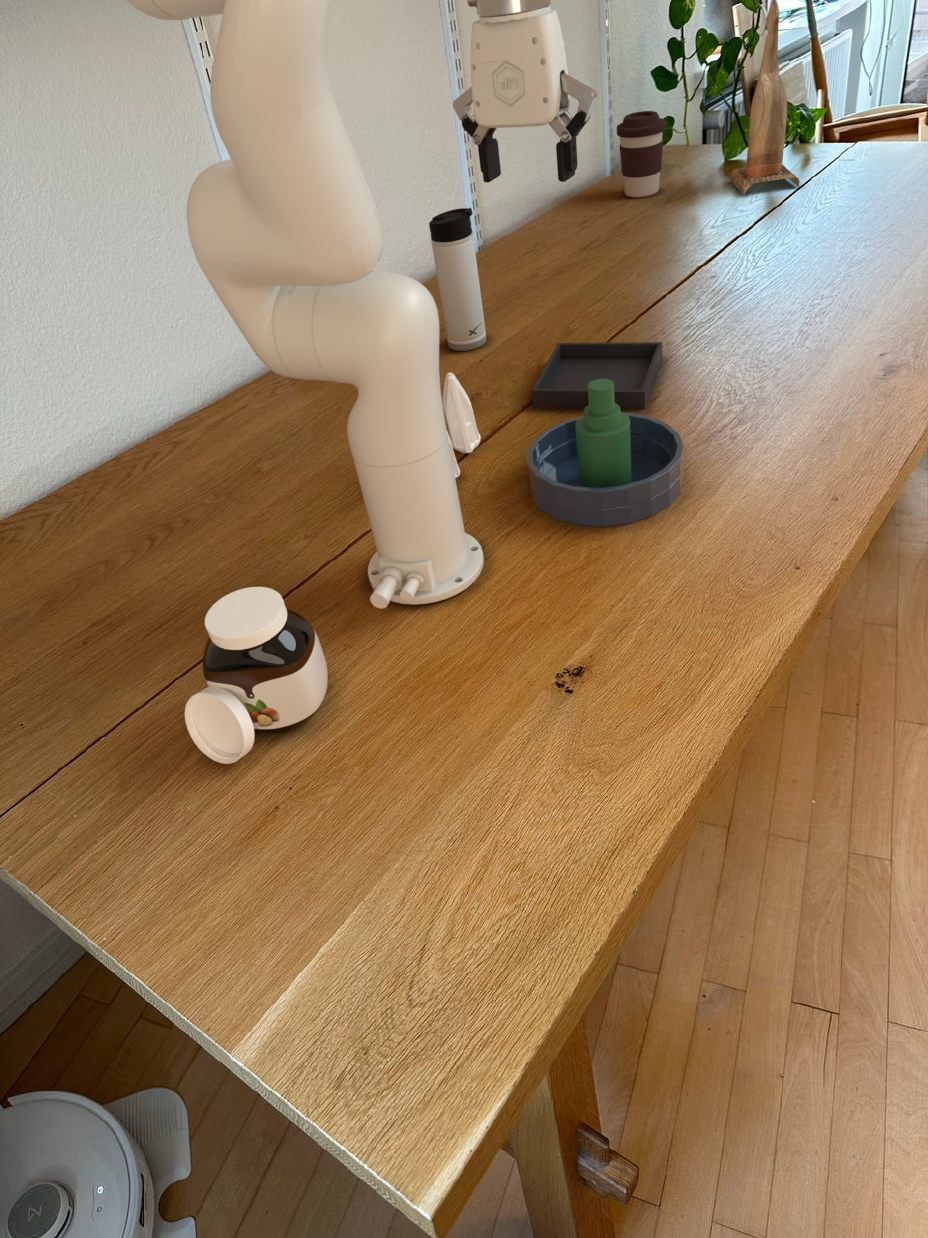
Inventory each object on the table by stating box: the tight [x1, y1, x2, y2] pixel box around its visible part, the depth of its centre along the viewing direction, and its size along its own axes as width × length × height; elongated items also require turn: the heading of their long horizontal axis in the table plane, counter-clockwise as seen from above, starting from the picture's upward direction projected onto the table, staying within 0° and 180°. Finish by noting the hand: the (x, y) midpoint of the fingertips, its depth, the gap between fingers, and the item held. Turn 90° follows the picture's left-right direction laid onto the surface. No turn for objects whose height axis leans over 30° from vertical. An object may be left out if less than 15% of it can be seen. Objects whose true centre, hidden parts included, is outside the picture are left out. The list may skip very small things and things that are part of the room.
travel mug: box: [428, 207, 487, 352], centre depth 133 cm, size 6×7×20 cm
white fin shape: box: [442, 372, 482, 479], centre depth 107 cm, size 12×4×11 cm, turn 156°
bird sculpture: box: [729, 0, 800, 196], centre depth 169 cm, size 11×12×32 cm
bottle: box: [575, 379, 632, 488], centre depth 97 cm, size 6×6×12 cm
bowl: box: [526, 412, 685, 528], centre depth 100 cm, size 17×17×5 cm
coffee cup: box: [616, 110, 667, 199], centre depth 183 cm, size 10×10×15 cm
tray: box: [531, 341, 663, 410], centre depth 121 cm, size 15×15×3 cm
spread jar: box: [184, 586, 329, 765], centre depth 76 cm, size 12×11×12 cm
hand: (528, 178), depth 101 cm, fingers open, 9 cm apart
